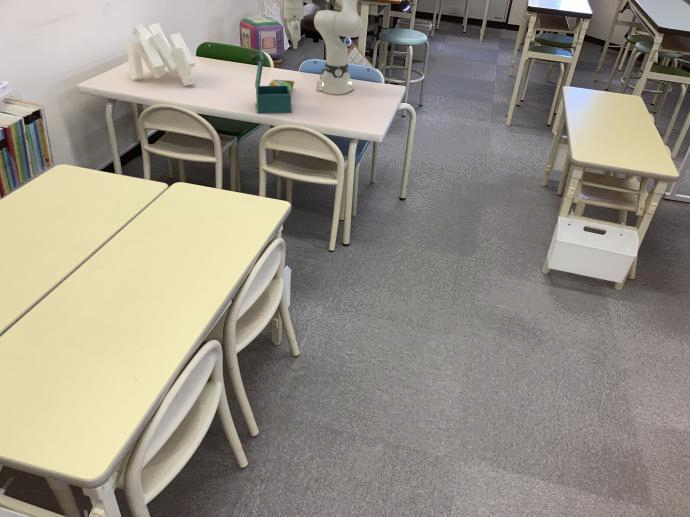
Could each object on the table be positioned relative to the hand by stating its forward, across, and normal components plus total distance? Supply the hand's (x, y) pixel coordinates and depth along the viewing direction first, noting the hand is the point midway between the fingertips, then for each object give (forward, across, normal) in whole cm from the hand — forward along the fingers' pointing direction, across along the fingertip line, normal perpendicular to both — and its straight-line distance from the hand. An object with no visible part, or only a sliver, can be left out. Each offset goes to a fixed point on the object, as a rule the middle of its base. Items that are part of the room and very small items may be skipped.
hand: (294, 45), depth 254 cm
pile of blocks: (+29, +41, +65) cm, 82 cm away
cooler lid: (+12, -2, +16) cm, 20 cm away
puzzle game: (+30, +18, +6) cm, 35 cm away
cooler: (+29, -2, +11) cm, 31 cm away
